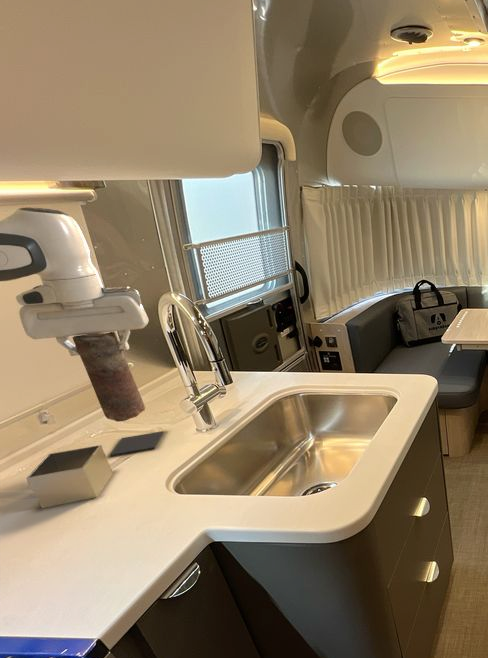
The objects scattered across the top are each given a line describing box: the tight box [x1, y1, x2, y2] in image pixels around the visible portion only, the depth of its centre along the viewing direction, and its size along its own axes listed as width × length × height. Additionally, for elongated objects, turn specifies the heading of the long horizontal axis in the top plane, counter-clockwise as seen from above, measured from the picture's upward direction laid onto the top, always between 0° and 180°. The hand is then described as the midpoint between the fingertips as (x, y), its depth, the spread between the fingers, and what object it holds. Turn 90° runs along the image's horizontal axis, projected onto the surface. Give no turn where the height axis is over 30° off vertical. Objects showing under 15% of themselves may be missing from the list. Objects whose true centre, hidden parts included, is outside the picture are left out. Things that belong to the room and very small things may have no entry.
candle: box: [72, 331, 146, 423], centre depth 109 cm, size 8×7×20 cm
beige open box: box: [26, 444, 114, 509], centre depth 98 cm, size 9×10×7 cm
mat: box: [110, 431, 164, 457], centre depth 116 cm, size 8×8×1 cm
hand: (100, 352), depth 106 cm, fingers closed on candle, 7 cm apart
